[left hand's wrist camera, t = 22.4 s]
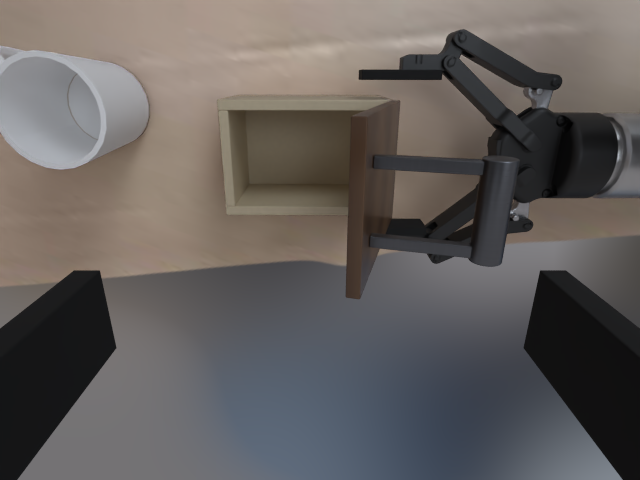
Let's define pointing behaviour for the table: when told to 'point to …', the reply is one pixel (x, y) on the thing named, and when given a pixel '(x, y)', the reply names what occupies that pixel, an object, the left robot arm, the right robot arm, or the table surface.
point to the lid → (378, 192)
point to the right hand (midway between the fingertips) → (356, 155)
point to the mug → (67, 107)
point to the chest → (288, 152)
